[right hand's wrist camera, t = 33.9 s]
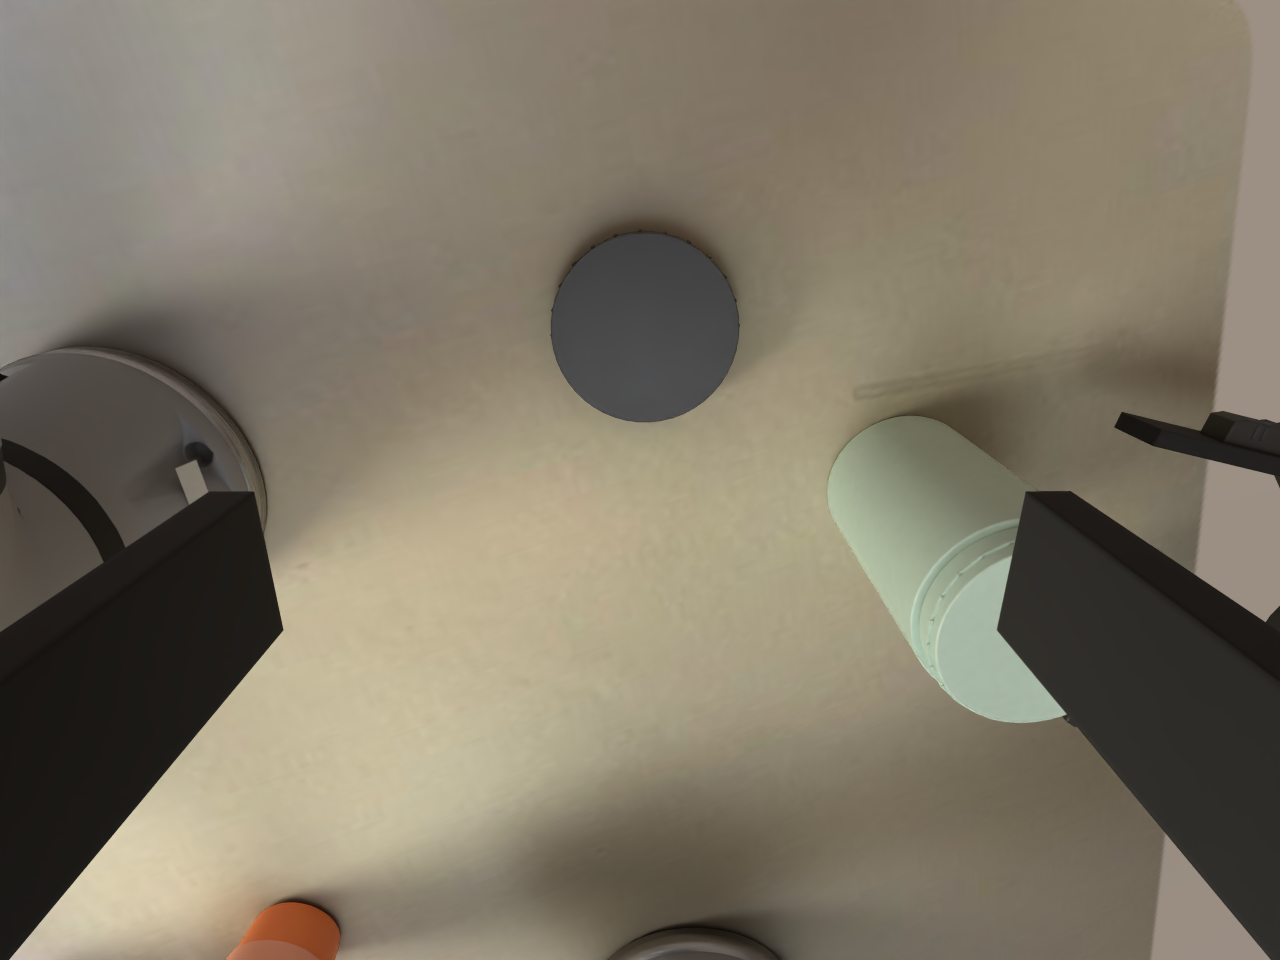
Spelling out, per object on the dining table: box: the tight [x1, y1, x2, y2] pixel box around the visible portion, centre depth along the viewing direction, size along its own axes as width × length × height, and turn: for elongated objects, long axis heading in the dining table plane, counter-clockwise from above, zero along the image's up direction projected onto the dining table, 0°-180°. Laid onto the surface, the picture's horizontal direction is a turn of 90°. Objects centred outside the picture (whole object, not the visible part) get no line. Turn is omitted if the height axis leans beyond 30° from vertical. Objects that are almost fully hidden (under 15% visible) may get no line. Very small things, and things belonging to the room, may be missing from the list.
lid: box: [551, 229, 740, 422], centre depth 36 cm, size 9×9×2 cm
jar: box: [827, 416, 1067, 723], centre depth 33 cm, size 8×8×15 cm
